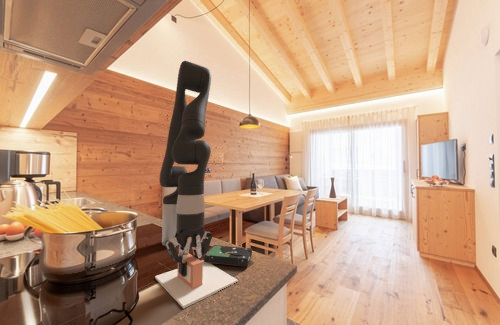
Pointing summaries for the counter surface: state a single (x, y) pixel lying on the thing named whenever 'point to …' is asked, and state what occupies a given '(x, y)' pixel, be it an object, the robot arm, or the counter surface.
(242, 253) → the disk drive
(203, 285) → the mat
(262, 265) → the counter surface
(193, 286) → the deck box
